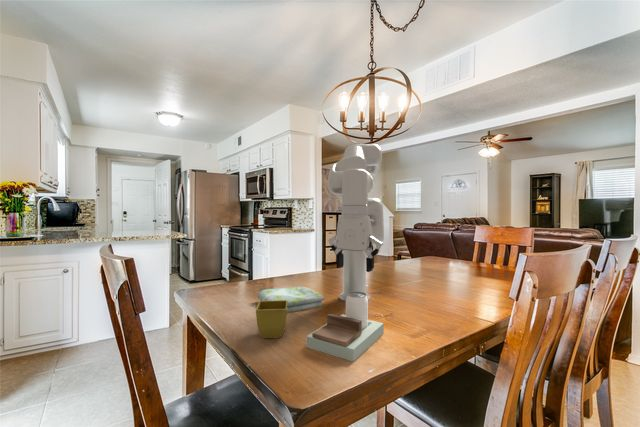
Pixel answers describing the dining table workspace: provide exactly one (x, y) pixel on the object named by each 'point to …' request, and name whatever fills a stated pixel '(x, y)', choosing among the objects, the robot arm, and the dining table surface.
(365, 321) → the can
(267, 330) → the flower pot
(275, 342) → the dining table surface
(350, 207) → the robot arm
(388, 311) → the dining table surface
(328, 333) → the lid
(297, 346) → the dining table surface
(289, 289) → the towel
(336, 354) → the well board
